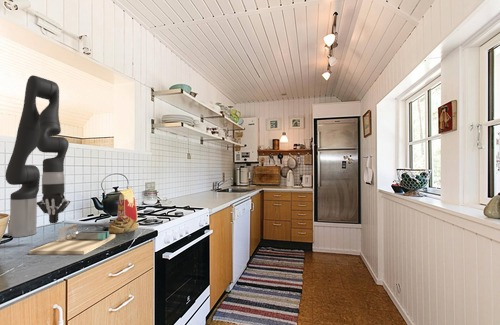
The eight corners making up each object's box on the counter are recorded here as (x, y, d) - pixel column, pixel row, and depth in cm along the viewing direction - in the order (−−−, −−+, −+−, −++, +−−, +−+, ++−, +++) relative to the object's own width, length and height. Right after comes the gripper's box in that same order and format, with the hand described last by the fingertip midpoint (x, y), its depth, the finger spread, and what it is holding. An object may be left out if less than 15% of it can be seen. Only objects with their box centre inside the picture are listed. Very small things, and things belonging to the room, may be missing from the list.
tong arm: (75, 239, 101) (75, 233, 101) (78, 238, 103) (78, 232, 103) (103, 239, 101) (103, 234, 101) (105, 238, 102) (105, 233, 102)
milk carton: (131, 218, 148) (131, 186, 148) (138, 221, 142) (138, 187, 142) (115, 221, 141) (115, 187, 141) (122, 224, 135) (122, 188, 135)
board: (29, 254, 88) (29, 250, 89) (71, 237, 109) (71, 234, 110) (84, 254, 89) (84, 250, 89) (115, 237, 110) (115, 234, 110)
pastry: (105, 235, 113) (105, 218, 114) (110, 228, 127) (110, 212, 127) (136, 232, 118) (136, 216, 119) (138, 225, 132) (138, 211, 132)
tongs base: (70, 239, 102) (70, 232, 102) (75, 237, 105) (75, 230, 105) (105, 239, 102) (105, 232, 102) (109, 237, 105) (109, 230, 105)
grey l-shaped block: (58, 240, 99) (58, 228, 99) (70, 235, 107) (71, 224, 107) (65, 240, 99) (65, 228, 100) (77, 235, 107) (77, 224, 107)
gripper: (75, 181, 107) (75, 220, 107) (44, 182, 107) (45, 221, 107) (62, 183, 100) (62, 224, 100) (30, 183, 100) (30, 225, 99)
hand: (53, 223), depth 103 cm, fingers closed
